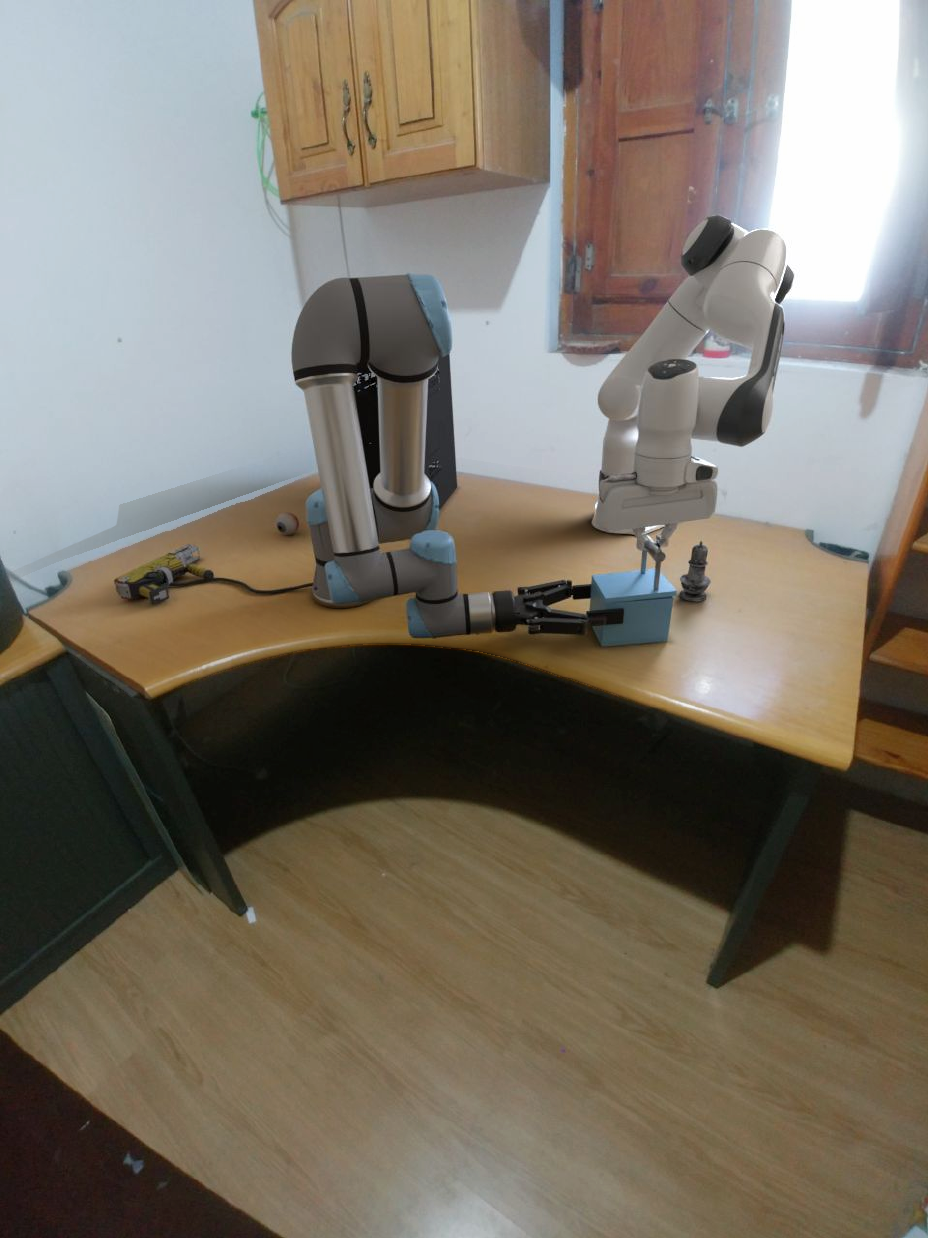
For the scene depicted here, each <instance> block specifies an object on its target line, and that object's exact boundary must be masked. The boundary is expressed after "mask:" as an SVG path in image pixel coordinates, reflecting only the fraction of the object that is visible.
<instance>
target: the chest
mask: <svg viewBox="0 0 928 1238" xmlns="http://www.w3.org/2000/svg"><path fill="white" fill-rule="evenodd" d="M590 584H591V596H590V599H589V611H594V610H607V609H619V608H623V609H624V619H623V624H612V625H602V626H591V629H592V630H593V633H594V634H595V636H596V638H597V640H598V642H599V644H600V646H601V647H602V648H603V647H615V646H627V645H638V644H652V643H664V642H668V641H669V633H670V626H671V619H672V612H673V604H674V596H670V597H661V598H651V599H642V600H632V601H623V602H613V603H605V602H604V600H603V598H602V597H601V595H600V593H599V592H598V590H597V588H596V586H595V585H594V583H593V581H592V580H591V583H590Z"/></svg>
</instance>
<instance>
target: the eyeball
mask: <svg viewBox="0 0 928 1238" xmlns="http://www.w3.org/2000/svg"><path fill="white" fill-rule="evenodd" d="M299 525H300V522H299V519H298V517H297V516H296V515H295V514H294V513H292V512H287V511H286V512H282V513H280V514H279V515H278V516H277V517H276V520H275V527H276V529H277V530H278V531H279V532H280V533H281V534H282V535H285V536H286V535H287V536H289V535H293V534H295V533H296V532H297V531H298V529H299Z"/></svg>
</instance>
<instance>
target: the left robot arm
mask: <svg viewBox="0 0 928 1238" xmlns="http://www.w3.org/2000/svg"><path fill="white" fill-rule="evenodd" d="M450 316H451V315H450V312H449V306H448V303H447V299H446V295H445V292H444V290H443V287H442V285H441V283H440V282H439V280H438V279H437V277H436V276H433V275H431V274H429V273H424V274H423V273H421V274H420V273H419V274H417V273H416V274H414V273H413V274H412V273H410V272H407V273H406V274H394V275H392V274H391V275H377V276H362V277H337V278H334V279H331V280H329V281H326V282H325V283H323V284H322V285H321V286H319V287H318V288H317V289H316V290H315V291H314V292H313V293H312V294H311V295H310V297H309V298H308V299H307V301H306V302H305V303H304V305H303V307H302V308H301V311H300V313H299V315H298V317H297V320H296V323H295V327H294V330H293V336H292V342H291V353H290V354H291V357H290V358H291V367H292V368H291V369H292V375H293V378H294V384H295V386H297V387H298V388H299V389H301V390H302V391H303V395H304V401H305V406H306V411H307V417H308V422H309V427H310V433H311V438H312V444H313V448H314V454H315V459H316V465H317V471H318V477H319V481H320V486H321V488H320V489H317V490H316V491H314V492H313V493H311V494H310V495H309V496H308V497H307V499H306V501H305V511H306V523H307V524H308V527H309V533H310V538H311V544H312V549H313V550H312V551H313V555H314V560H315V567H314V568H315V569H314V576H313V582H309V583H304V584H300V585H296V586H290V587H285V588H278V589H267V590H265V589H264V590H263V589H255V588H253V587H251V586H249V585H248V584H247V583H245V582H243V581H240V580H236V579H232V578H227V577H214V578H210V579H209V580H205V579H204V578H199V579H193V580H190V581H182V582H173V583H170V584H169V585H168V586H167V587H169V586H170V587H185V586H191V585H195V584H199V583H206V582H226V583H232V584H234V585H235V584H236V585H239V586H241V587H244V588H245V589H246V590H247V591H250V592H252V593H254V594H258V595H259V594H261V595H271V594H281V593H285V592H291V591H296V590H301V589H305V588H309V587H312V588H311V590H312V595H313V600H314V601H315V603H317V604H318V605H320V606H322V607H326V608H330V609H331V608H332V609H347V608H356V607H359V606H364V605H366V604H368V603H370V602H372V601H376V600H380V599H386V598H391V597H396V596H402V595H407V594H413V593H414V594H415V596H414V597H410V598H407V600H406V602H405V611H406V623H407V625H406V626H407V631H408V634H409V636H410V637H411V638H412V639H416V640H417V639H432V640H435V639H438V638H446V637H447V638H448V637H458V636H470V635H477V636H478V635H481V634H484V635H485V634H492V633H493V631H494V632H496V633H499V634H501V633H511V632H515V631H516V629H517V626H527V629H528V631H527V632H528V634H529V635H530V636H532V635H533V636H534V635H540V634H549V635H571V636H573V635H574V636H585V635H586V634H587V632H588V628H589V627H592V626H602V625H612V624H623V619H624V609H623V608H619V609H607V610H594V611H590V610H586V611H585V613H581V612H574V611H567V610H561V609H554V608H551V607H550V606H552V605H554V604H557V603H559V602H562V601H565V600H567V599H570V598H572V600H573V601H576V600H577V601H578V600H590V596H591V583H585V584H575V585H574V584H573V581H572V580H570V579H567V580H566V579H560V580H556V581H550V582H545V583H540V584H535V585H531V586H518V587H517V589H516V591H517V595H516V596H515V594H514V592H513V590H511V589H507V590H498V591H497V590H495V591H493V592H491V594H490V592H489V591H482V592H471V593H459V586H458V563H457V562H458V558H457V552H456V546H455V540H454V538H453V536H452V535H451V534H450V533H448V532H447V531H444V530H439V529H437V528H438V524H439V519H440V511H439V508H438V506H439V499H438V494H437V490H436V487H435V485H434V484H433V483H432V482H431V481H429V479H428V477H427V476H426V475H425V474H424V464H425V441H426V418H427V394H428V379H430V378H431V377H432V376H435V375H434V374H435V373H436V371H437V368H438V357H439V356H442V357H444V356H446V355H448V354H450V353H451V351H452V348H453V330H452V329H453V328H452V322H451V317H450ZM356 363H368V367H369V369H370V371H371V372H372V373H373V374H374V375H375V376H377V381H378V410H379V440H380V470H381V472H380V473H379V474H378V475H377V477H376V478H375V480H374V488H371V489H370V487H369V480H368V474H367V468H366V462H365V456H364V450H363V444H362V437H361V431H360V425H359V419H358V413H357V407H356V400H355V394H354V388H353V386H354V383H355V382H356V380H357V379H358V380H359V377H358V375H359V373H358V371H357V364H356ZM374 375H373V376H374ZM358 380H357V381H358ZM408 540H410V541H409V547H408V548H404V549H398V550H391V551H385V552H381V549H380V545H383V544H388V543H395V542H402V541H408Z"/></svg>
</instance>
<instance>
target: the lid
mask: <svg viewBox="0 0 928 1238" xmlns="http://www.w3.org/2000/svg"><path fill="white" fill-rule="evenodd" d="M643 537H645V538H647V539H648V540H649V541H650V542H649V545H648V546H649V549H647V550H641V563H640V569H638V570H637V569H636V570H629V571H619V572H618V571H617V572H611V573H608V572H607V573H598V574H592V575H591V581H593V583H594V585H595V586H596V588H597V590H598V592H599V593H600V595H601V597H602V598H603V600H604V602H605V603H613V602H623V601H632V600H642V599H651V598H661V597H670V596H672V597H677V593H678V591H677V589H676V588H675V587H674V586H673V585H672V583H671V582H670V581H669V579H668V578H667V577H666V576H665V575H664V573H663V572H662V571H661V567H662V563H663V562H664V561H665V559H666V557H667V556H666V553H665V552H664V551H663V549H661V548H659V547H658V545H657V544H656V543H655V540H653V538H652V537H651V536H650V535H648V534H644V535H643ZM648 555H649V556H650V557H651V559H653V561H654V562H655V566H654V568H647V559H648V558H647V557H648Z"/></svg>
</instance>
